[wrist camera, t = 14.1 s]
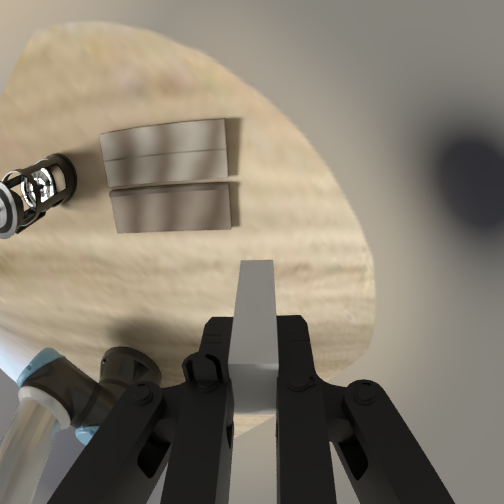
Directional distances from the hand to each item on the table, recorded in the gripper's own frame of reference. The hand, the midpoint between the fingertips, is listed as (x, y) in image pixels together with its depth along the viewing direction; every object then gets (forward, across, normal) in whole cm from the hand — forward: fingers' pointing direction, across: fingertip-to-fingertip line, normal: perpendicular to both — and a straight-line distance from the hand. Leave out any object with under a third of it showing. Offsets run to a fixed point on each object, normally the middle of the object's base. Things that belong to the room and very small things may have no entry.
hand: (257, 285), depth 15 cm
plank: (+34, -15, +2) cm, 37 cm away
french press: (+35, -37, 0) cm, 51 cm away
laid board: (+34, -15, -7) cm, 38 cm away
